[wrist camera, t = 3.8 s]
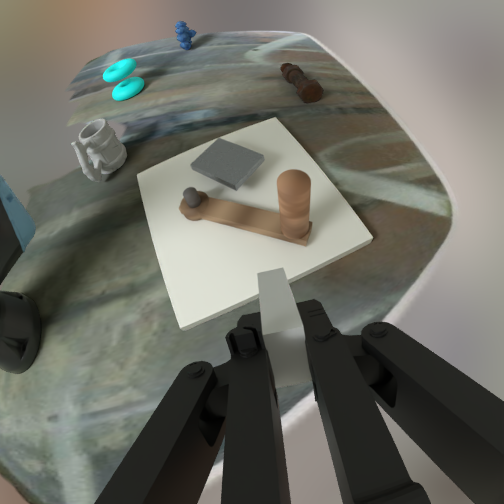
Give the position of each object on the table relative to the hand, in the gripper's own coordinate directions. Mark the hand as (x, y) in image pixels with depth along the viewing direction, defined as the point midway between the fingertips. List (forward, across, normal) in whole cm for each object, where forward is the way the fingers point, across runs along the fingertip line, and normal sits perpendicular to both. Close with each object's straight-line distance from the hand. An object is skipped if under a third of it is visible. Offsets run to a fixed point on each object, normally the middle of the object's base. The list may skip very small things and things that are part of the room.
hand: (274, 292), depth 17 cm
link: (+26, -2, 0) cm, 26 cm away
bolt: (+52, +16, +24) cm, 59 cm away
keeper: (+33, -3, +6) cm, 34 cm away
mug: (+42, -28, +15) cm, 52 cm away
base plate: (+30, -3, +2) cm, 30 cm away
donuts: (+65, -28, +38) cm, 80 cm away
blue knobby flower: (+80, -9, +54) cm, 96 cm away
